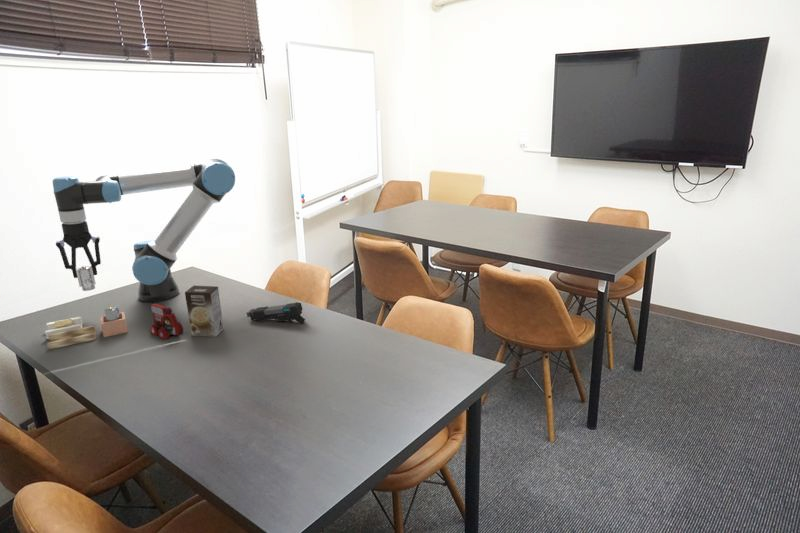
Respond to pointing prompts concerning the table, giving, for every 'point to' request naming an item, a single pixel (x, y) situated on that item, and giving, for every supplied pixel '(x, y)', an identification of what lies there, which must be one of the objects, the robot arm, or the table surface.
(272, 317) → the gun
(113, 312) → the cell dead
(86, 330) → the trough
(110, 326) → the square hollow tube
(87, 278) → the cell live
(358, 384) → the table surface
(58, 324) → the tan flat square block
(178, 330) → the toy fire truck
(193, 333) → the coffee box
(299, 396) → the table surface
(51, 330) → the cradle
